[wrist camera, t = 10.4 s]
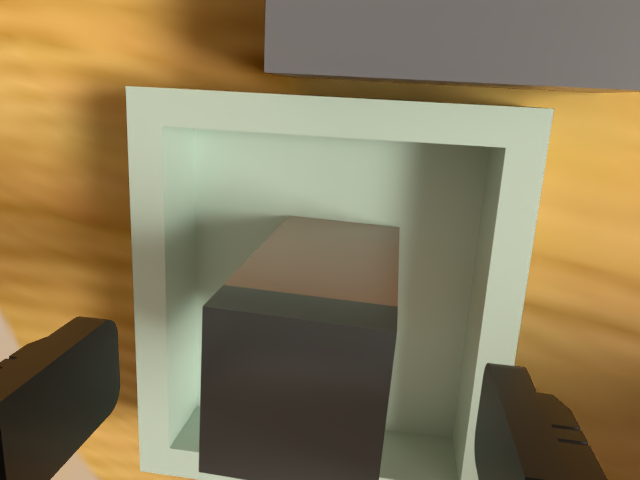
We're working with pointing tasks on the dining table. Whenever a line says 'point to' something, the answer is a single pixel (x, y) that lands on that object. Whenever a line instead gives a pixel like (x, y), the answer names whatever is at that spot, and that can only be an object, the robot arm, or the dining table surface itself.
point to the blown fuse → (302, 355)
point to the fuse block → (459, 42)
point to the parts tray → (342, 205)
